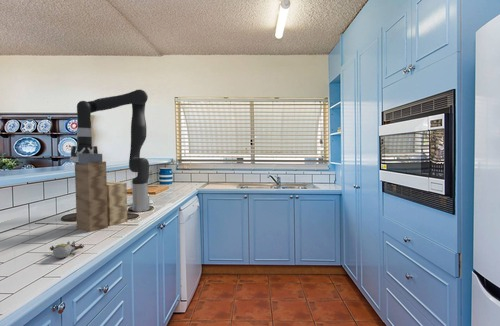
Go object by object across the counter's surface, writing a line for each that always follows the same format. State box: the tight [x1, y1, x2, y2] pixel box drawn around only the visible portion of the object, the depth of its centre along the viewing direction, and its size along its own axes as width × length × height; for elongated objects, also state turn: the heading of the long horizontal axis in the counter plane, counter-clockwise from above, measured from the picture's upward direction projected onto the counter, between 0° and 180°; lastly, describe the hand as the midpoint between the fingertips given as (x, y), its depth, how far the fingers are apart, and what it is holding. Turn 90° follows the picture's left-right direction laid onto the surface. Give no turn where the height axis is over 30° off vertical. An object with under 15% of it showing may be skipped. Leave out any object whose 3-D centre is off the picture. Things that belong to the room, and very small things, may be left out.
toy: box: [49, 240, 85, 259], centre depth 116 cm, size 12×5×15 cm
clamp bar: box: [69, 153, 103, 165], centre depth 153 cm, size 7×22×5 cm, turn 57°
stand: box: [74, 161, 109, 233], centre depth 150 cm, size 9×12×33 cm
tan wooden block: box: [107, 181, 128, 227], centre depth 162 cm, size 10×12×21 cm
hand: (84, 163), depth 177 cm, fingers open, 8 cm apart
